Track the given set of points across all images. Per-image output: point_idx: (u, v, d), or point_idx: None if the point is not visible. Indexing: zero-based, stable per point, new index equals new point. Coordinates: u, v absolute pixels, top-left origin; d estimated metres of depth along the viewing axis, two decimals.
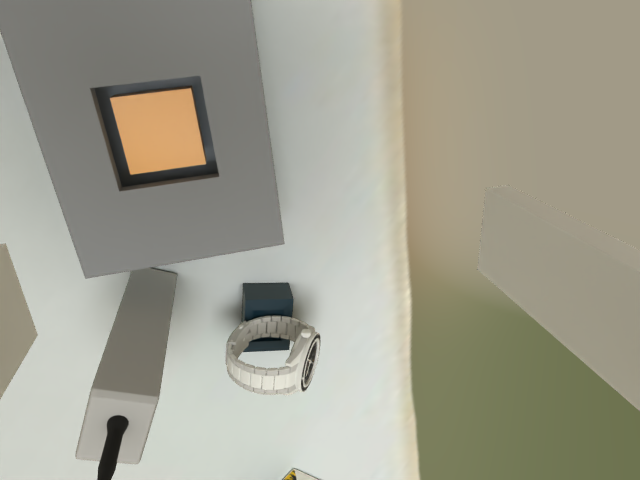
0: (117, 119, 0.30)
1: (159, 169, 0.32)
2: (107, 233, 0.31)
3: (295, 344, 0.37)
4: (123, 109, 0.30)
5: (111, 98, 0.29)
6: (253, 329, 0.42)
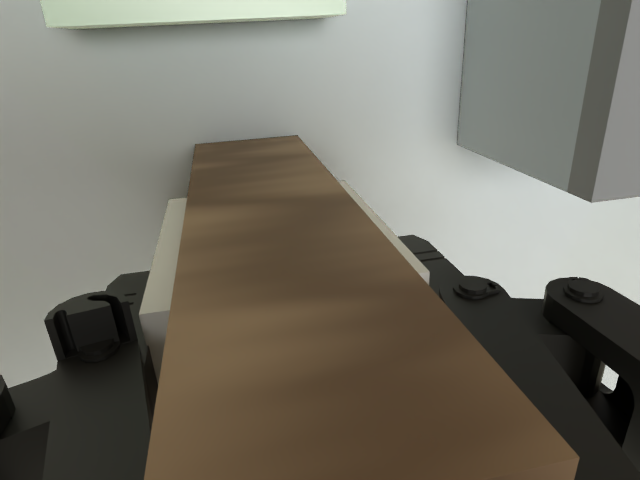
0: None
1: None
2: None
3: None
4: None
5: None
6: None
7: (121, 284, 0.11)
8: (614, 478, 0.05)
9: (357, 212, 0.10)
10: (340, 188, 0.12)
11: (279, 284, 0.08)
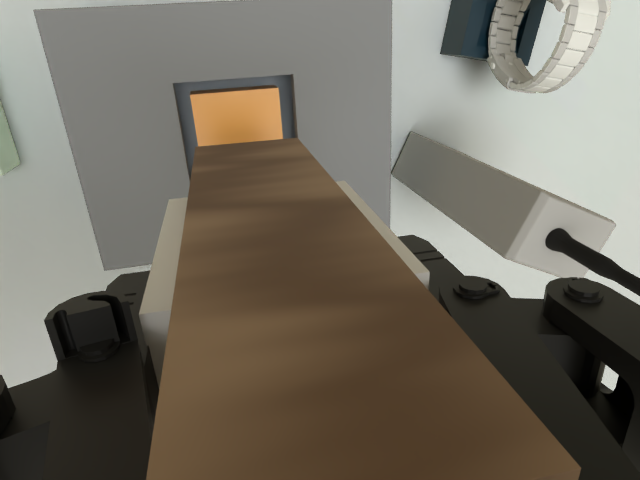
0: None
1: None
2: None
3: None
4: None
5: None
6: (502, 49, 0.32)
7: (121, 284, 0.11)
8: (614, 478, 0.05)
9: (357, 216, 0.10)
10: (340, 192, 0.12)
11: (279, 290, 0.08)
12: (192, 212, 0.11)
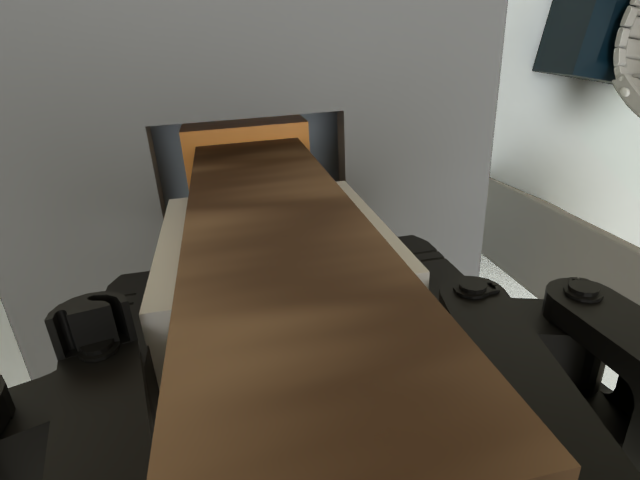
0: None
1: None
2: None
3: None
4: None
5: None
6: (634, 67, 0.22)
7: (121, 284, 0.11)
8: (614, 478, 0.05)
9: (357, 215, 0.10)
10: (340, 191, 0.12)
11: (279, 289, 0.08)
12: (192, 212, 0.11)
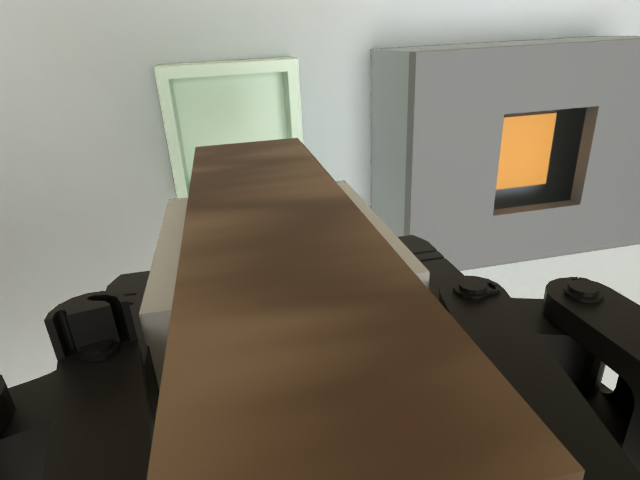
0: (500, 187, 0.33)
1: (548, 157, 0.33)
2: (610, 220, 0.33)
3: None
4: None
5: None
6: None
7: (121, 284, 0.11)
8: (614, 478, 0.05)
9: (358, 216, 0.10)
10: (341, 192, 0.12)
11: (280, 290, 0.08)
12: (192, 212, 0.11)
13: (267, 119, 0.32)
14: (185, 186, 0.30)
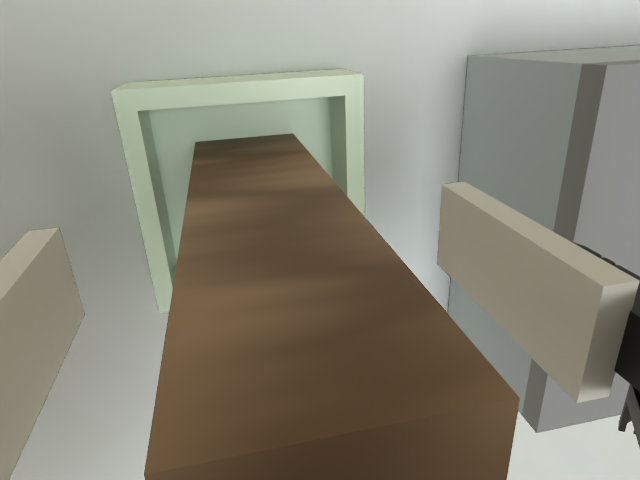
0: None
1: None
2: None
3: None
4: None
5: None
6: None
7: None
8: None
9: (345, 202, 0.11)
10: (331, 181, 0.13)
11: (271, 264, 0.08)
12: (192, 200, 0.12)
13: None
14: (170, 284, 0.18)
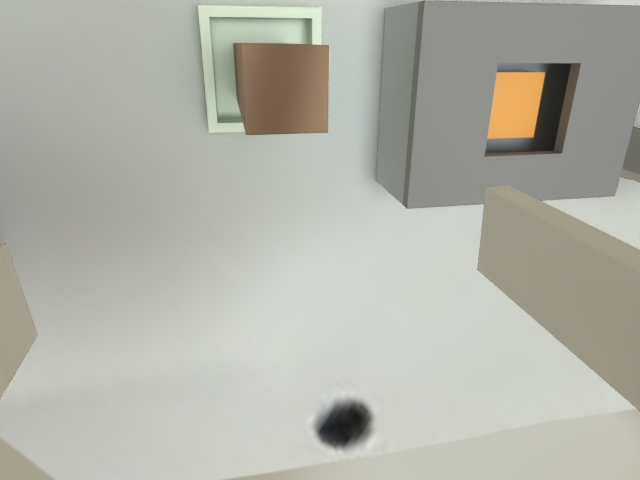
0: (492, 137, 0.37)
1: (536, 113, 0.37)
2: (588, 170, 0.37)
3: None
4: None
5: None
6: None
7: None
8: None
9: None
10: None
11: None
12: None
13: None
14: (216, 115, 0.35)
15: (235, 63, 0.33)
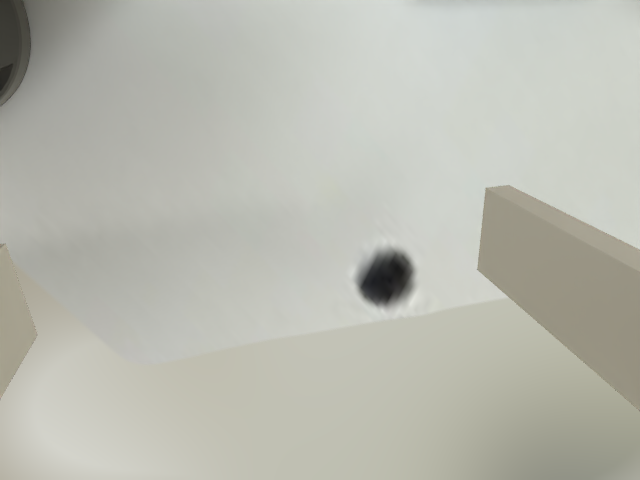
0: None
1: None
2: None
3: None
4: None
5: None
6: None
7: None
8: None
9: None
10: None
11: None
12: None
13: None
14: None
15: None
